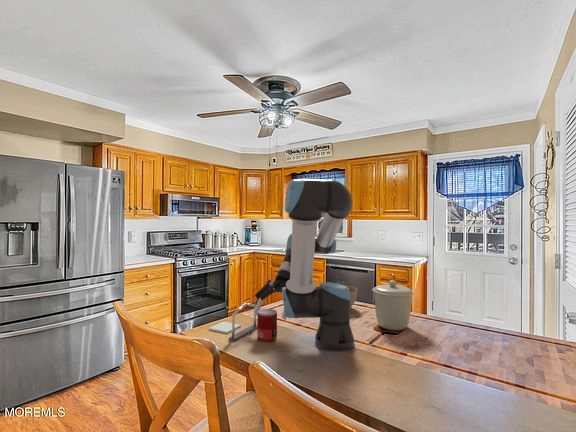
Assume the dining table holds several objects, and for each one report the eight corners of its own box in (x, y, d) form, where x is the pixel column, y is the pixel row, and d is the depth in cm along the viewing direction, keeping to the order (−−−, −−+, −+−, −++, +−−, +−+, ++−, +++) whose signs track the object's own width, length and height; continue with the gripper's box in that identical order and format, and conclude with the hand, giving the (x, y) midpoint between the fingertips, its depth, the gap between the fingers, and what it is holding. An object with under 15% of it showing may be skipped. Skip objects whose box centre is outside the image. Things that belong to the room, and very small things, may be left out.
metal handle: (259, 328, 144) (259, 298, 144) (234, 342, 128) (235, 308, 128) (253, 327, 145) (253, 297, 145) (228, 340, 129) (228, 307, 129)
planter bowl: (321, 306, 179) (321, 286, 179) (345, 303, 186) (346, 284, 186) (338, 314, 164) (338, 293, 164) (363, 310, 171) (363, 290, 171)
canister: (407, 321, 155) (407, 277, 155) (419, 334, 137) (419, 285, 137) (369, 319, 157) (369, 276, 157) (375, 333, 139) (375, 283, 139)
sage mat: (241, 326, 145) (241, 324, 145) (227, 333, 136) (227, 331, 136) (223, 323, 150) (223, 321, 150) (208, 329, 141) (208, 328, 141)
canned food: (276, 342, 128) (276, 314, 128) (256, 341, 128) (256, 314, 128) (277, 335, 135) (277, 308, 135) (258, 334, 135) (258, 308, 135)
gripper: (313, 281, 144) (298, 324, 131) (265, 276, 156) (247, 315, 143) (308, 271, 140) (293, 315, 126) (259, 266, 151) (240, 306, 138)
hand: (269, 315), depth 134 cm, fingers open, 13 cm apart
